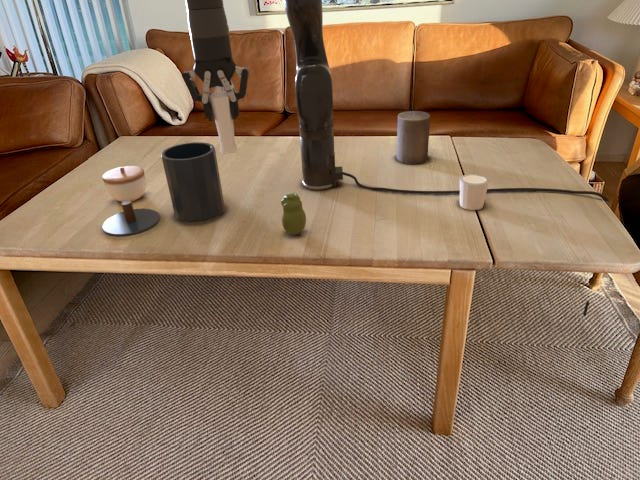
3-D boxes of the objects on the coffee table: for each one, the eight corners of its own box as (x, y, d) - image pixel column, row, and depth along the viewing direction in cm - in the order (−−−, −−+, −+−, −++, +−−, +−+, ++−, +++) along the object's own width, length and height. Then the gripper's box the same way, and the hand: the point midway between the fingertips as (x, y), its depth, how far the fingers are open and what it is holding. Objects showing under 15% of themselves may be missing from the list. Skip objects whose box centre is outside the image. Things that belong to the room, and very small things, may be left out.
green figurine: (287, 240, 109) (283, 200, 104) (279, 230, 113) (275, 192, 108) (310, 234, 111) (307, 195, 106) (301, 225, 115) (298, 187, 110)
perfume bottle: (214, 154, 105) (202, 84, 98) (225, 147, 109) (213, 79, 101) (232, 155, 104) (221, 84, 96) (242, 148, 107) (232, 80, 100)
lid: (166, 211, 125) (161, 189, 122) (151, 237, 113) (145, 213, 110) (115, 214, 125) (109, 192, 122) (94, 239, 114) (87, 216, 111)
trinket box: (101, 204, 131) (91, 173, 126) (127, 189, 139) (119, 158, 135) (133, 209, 127) (124, 176, 123) (157, 193, 136) (150, 161, 131)
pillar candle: (432, 156, 150) (435, 108, 143) (420, 166, 143) (423, 116, 136) (403, 151, 155) (405, 105, 148) (390, 161, 148) (392, 113, 141)
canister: (228, 201, 129) (218, 140, 120) (220, 223, 118) (208, 158, 109) (182, 203, 129) (169, 143, 121) (169, 225, 118) (154, 161, 110)
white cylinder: (470, 213, 116) (473, 187, 112) (451, 203, 121) (453, 177, 118) (491, 206, 118) (495, 180, 115) (472, 196, 124) (475, 171, 120)
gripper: (168, 38, 91) (186, 126, 100) (243, 33, 91) (254, 122, 99) (178, 33, 97) (194, 116, 106) (247, 28, 97) (258, 112, 106)
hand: (223, 118), depth 103 cm, fingers closed on perfume bottle, 4 cm apart
